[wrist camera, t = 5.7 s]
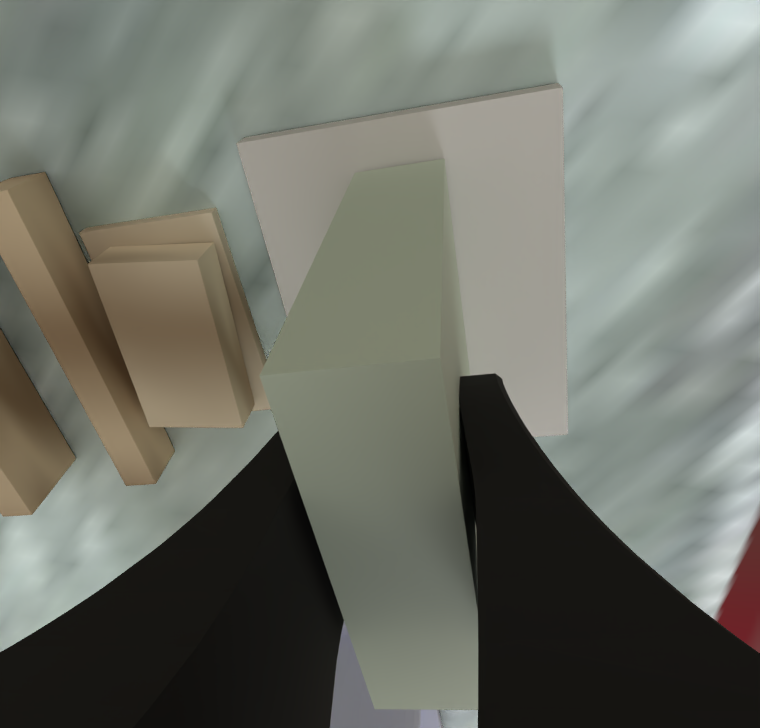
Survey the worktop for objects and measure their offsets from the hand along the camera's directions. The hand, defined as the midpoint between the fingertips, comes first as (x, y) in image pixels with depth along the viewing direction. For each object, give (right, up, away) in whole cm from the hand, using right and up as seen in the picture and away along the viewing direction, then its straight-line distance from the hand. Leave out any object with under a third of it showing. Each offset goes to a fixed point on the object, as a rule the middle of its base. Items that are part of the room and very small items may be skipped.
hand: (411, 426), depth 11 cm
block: (0, +3, +4) cm, 5 cm away
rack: (-10, +2, +7) cm, 12 cm away
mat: (+1, +3, +5) cm, 6 cm away
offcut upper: (-6, +2, +5) cm, 8 cm away
